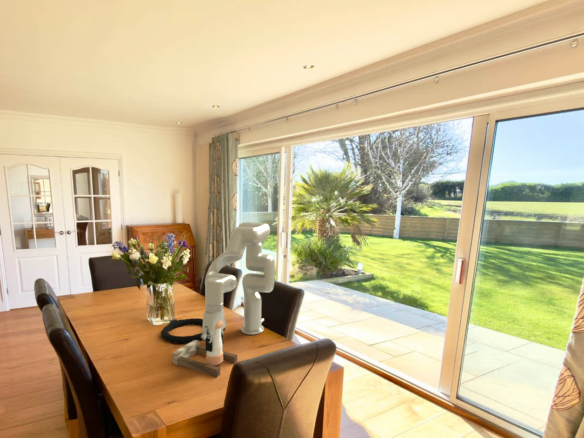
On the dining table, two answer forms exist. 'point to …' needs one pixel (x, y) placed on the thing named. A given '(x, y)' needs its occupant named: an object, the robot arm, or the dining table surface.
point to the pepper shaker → (215, 347)
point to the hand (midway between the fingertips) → (214, 346)
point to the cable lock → (175, 324)
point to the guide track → (192, 348)
